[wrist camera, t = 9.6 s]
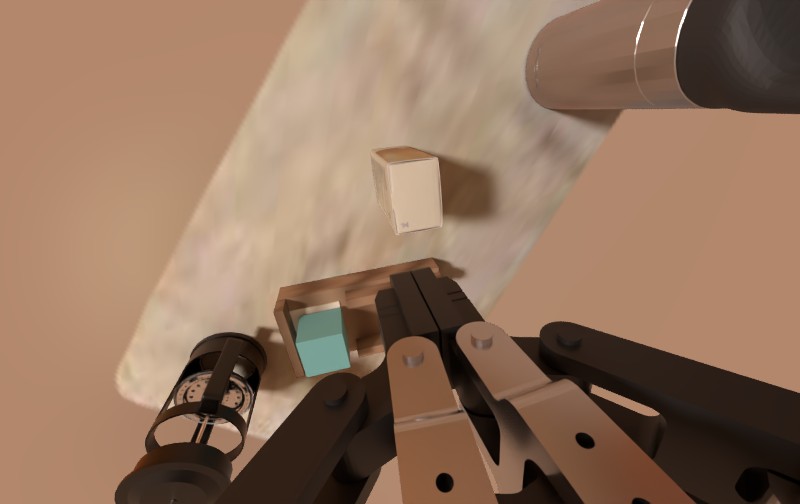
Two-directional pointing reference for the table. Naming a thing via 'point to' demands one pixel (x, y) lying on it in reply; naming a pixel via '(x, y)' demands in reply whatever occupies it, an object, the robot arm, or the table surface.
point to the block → (323, 342)
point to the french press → (198, 427)
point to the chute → (340, 306)
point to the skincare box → (408, 188)
